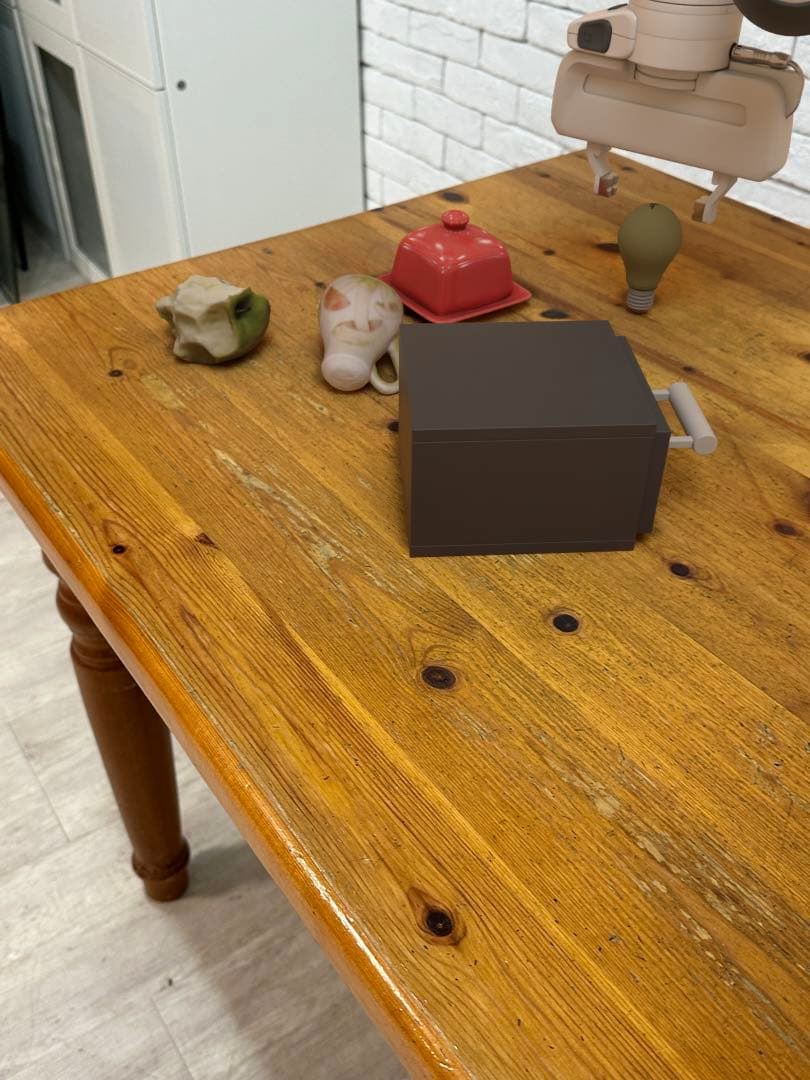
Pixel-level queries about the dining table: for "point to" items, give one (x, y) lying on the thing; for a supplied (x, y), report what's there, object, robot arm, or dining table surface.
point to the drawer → (668, 432)
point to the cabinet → (520, 438)
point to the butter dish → (453, 271)
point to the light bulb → (647, 250)
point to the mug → (359, 331)
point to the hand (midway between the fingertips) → (652, 207)
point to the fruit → (214, 319)
